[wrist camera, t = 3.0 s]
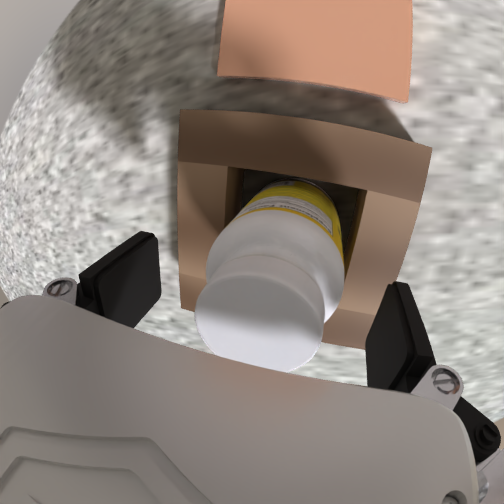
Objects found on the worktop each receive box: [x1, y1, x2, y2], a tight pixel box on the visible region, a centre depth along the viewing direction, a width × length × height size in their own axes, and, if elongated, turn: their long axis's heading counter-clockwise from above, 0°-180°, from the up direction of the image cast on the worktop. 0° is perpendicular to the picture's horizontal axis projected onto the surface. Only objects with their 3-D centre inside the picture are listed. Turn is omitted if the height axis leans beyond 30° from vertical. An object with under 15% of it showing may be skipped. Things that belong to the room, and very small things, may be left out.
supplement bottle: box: [195, 178, 344, 372], centre depth 13 cm, size 5×5×10 cm
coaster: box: [217, 0, 413, 103], centre depth 10 cm, size 10×10×1 cm
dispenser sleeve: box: [177, 110, 432, 350], centre depth 16 cm, size 12×12×3 cm
